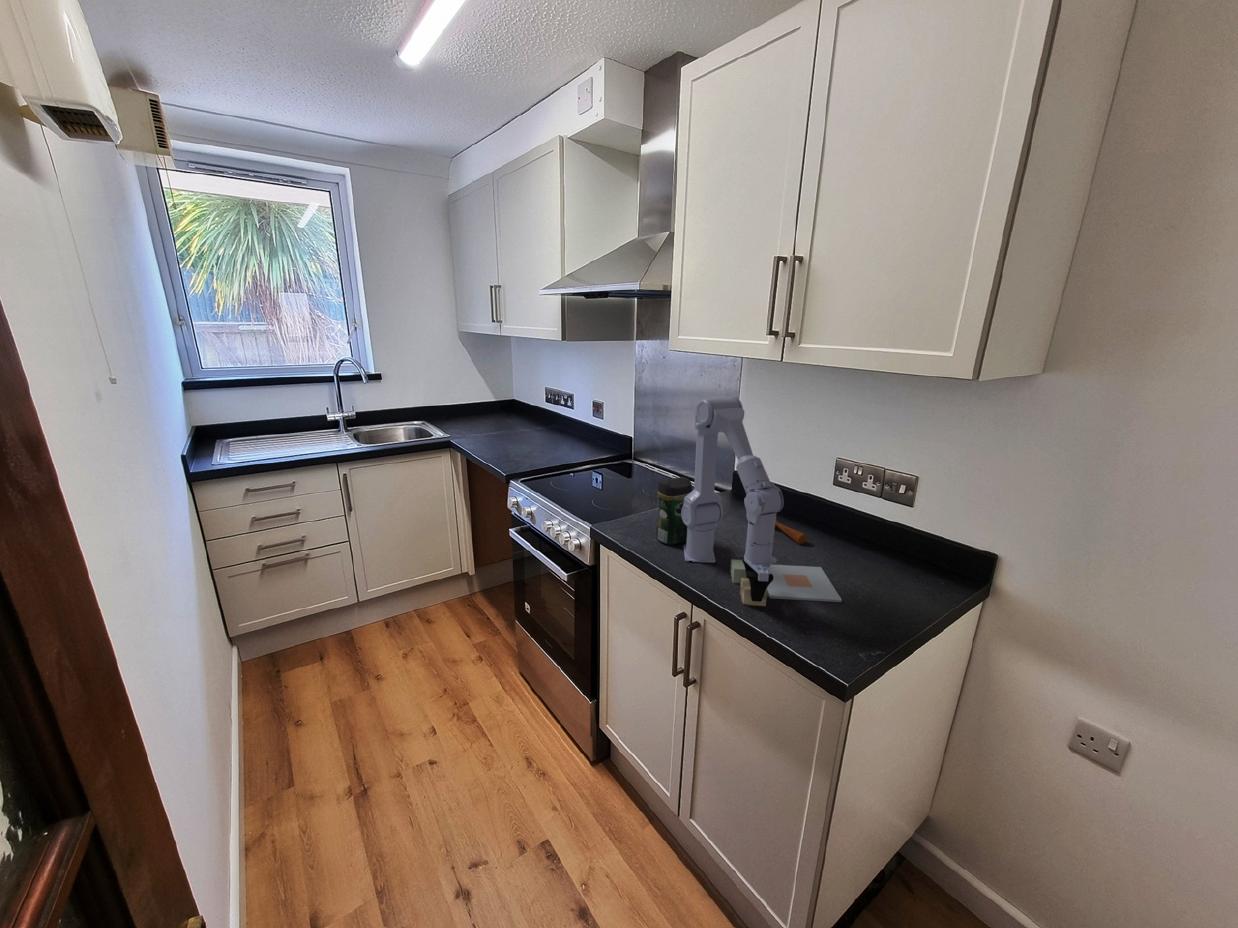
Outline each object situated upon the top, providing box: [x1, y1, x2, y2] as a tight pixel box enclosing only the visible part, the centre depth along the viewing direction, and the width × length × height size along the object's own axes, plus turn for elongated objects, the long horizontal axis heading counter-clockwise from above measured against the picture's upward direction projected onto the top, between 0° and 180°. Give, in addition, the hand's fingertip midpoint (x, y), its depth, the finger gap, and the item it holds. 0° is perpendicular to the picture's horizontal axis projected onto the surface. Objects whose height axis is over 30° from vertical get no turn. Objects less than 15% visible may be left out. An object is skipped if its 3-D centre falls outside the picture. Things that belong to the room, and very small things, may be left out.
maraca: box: [775, 519, 808, 545], centre depth 154 cm, size 6×6×20 cm
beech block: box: [739, 578, 768, 607], centre depth 116 cm, size 5×5×4 cm
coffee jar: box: [655, 476, 693, 546], centre depth 145 cm, size 10×8×19 cm
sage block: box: [729, 558, 746, 585], centre depth 126 cm, size 5×5×4 cm
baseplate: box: [767, 564, 843, 603], centre depth 124 cm, size 16×16×1 cm
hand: (754, 594), depth 116 cm, fingers closed on beech block, 5 cm apart
